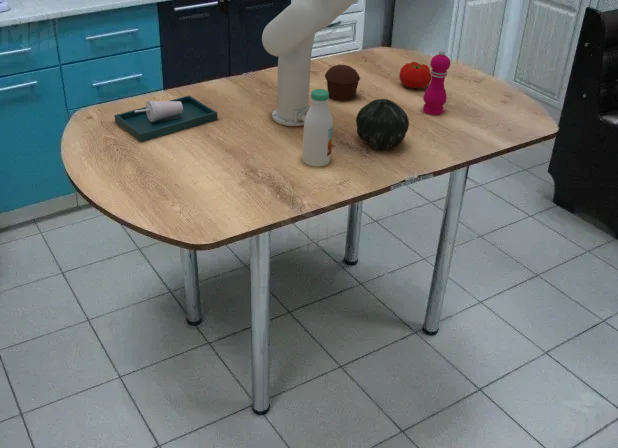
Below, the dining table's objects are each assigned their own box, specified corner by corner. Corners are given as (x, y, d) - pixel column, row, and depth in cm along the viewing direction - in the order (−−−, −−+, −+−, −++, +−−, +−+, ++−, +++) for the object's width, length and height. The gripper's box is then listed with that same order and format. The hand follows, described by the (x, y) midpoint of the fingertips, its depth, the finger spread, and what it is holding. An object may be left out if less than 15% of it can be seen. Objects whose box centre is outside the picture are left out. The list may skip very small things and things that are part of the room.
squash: (384, 108, 201) (367, 81, 188) (424, 127, 193) (408, 99, 180) (357, 146, 200) (338, 121, 188) (396, 166, 192) (378, 142, 179)
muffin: (364, 95, 223) (367, 66, 217) (348, 105, 215) (350, 76, 209) (334, 86, 228) (336, 58, 222) (316, 96, 220) (318, 67, 214)
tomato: (431, 92, 227) (435, 71, 223) (399, 91, 227) (402, 69, 223) (427, 80, 236) (430, 60, 232) (396, 79, 236) (399, 58, 232)
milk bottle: (321, 170, 179) (325, 100, 168) (296, 162, 182) (299, 92, 171) (335, 159, 184) (340, 90, 173) (311, 151, 188) (315, 83, 177)
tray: (217, 119, 202) (217, 112, 201) (141, 142, 188) (140, 134, 187) (189, 102, 212) (189, 95, 210) (115, 122, 198) (114, 115, 196)
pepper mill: (419, 106, 217) (428, 46, 206) (441, 106, 217) (451, 46, 206) (424, 115, 211) (433, 54, 200) (446, 116, 211) (457, 54, 200)
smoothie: (180, 93, 198) (134, 98, 191) (186, 113, 198) (140, 119, 191) (174, 101, 204) (129, 107, 197) (180, 121, 203) (135, 127, 196)
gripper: (235, -57, 197) (236, 6, 207) (192, -51, 189) (195, 14, 199) (250, -52, 192) (251, 13, 203) (206, -46, 184) (209, 21, 194)
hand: (223, 13), depth 201 cm, fingers closed
